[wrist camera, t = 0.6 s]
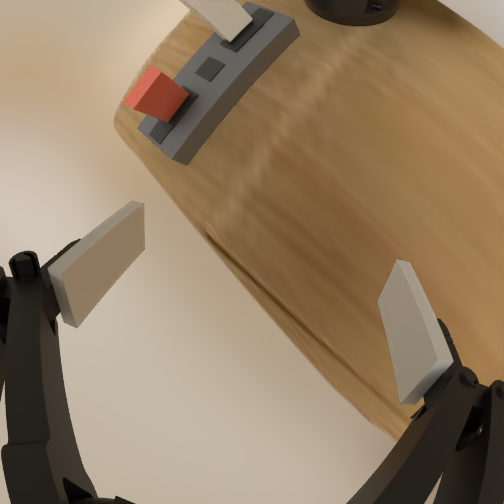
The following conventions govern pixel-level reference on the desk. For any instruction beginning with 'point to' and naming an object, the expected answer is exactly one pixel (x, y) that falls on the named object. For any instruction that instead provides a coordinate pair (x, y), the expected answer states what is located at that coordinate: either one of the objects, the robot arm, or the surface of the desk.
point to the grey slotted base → (219, 81)
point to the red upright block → (156, 95)
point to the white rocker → (221, 16)
